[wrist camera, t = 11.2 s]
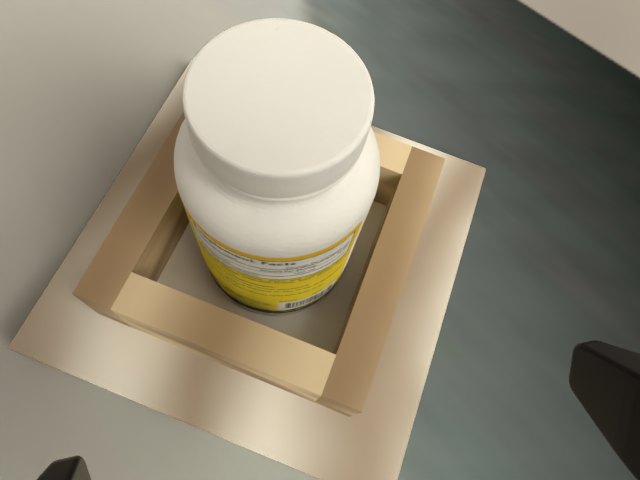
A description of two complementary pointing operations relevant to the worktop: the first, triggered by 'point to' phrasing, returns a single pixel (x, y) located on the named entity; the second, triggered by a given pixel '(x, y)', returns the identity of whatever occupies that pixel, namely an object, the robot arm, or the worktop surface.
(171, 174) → the socket
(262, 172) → the pill bottle
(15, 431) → the worktop surface
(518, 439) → the worktop surface
